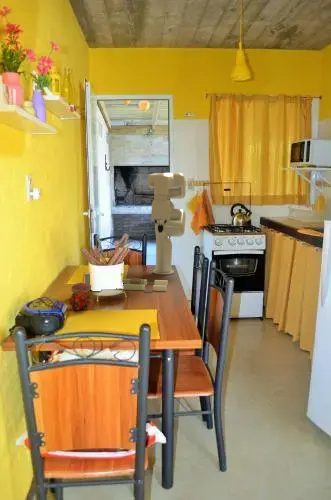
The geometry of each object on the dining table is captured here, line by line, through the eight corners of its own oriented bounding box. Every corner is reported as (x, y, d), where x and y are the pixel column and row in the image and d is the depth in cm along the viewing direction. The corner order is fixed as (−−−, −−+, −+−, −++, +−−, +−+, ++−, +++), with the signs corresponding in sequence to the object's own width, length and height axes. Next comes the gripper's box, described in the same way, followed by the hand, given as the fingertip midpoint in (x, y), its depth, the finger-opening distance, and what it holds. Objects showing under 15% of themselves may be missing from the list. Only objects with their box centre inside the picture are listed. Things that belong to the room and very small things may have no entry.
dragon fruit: (87, 308, 185) (76, 320, 174) (72, 296, 185) (60, 308, 174) (97, 294, 182) (87, 306, 171) (82, 283, 182) (70, 294, 171)
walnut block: (131, 285, 221) (131, 278, 220) (141, 286, 220) (141, 278, 220) (129, 288, 216) (129, 280, 215) (139, 288, 215) (139, 280, 215)
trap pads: (147, 282, 228) (147, 281, 228) (155, 282, 228) (155, 282, 228) (143, 292, 207) (143, 291, 207) (151, 292, 207) (151, 292, 207)
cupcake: (83, 294, 201) (83, 270, 199) (93, 298, 195) (93, 273, 193) (67, 297, 195) (67, 272, 193) (78, 301, 189) (77, 275, 187)
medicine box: (102, 289, 211) (102, 272, 209) (100, 292, 206) (100, 274, 205) (87, 289, 212) (87, 272, 210) (84, 291, 207) (84, 274, 206)
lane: (120, 283, 224) (120, 278, 224) (167, 285, 223) (167, 280, 223) (116, 289, 212) (116, 284, 212) (166, 291, 211) (166, 286, 211)
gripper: (175, 198, 227) (174, 232, 230) (147, 197, 228) (147, 231, 231) (175, 198, 220) (174, 233, 223) (146, 198, 220) (145, 232, 223)
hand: (160, 232), depth 227 cm, fingers closed
